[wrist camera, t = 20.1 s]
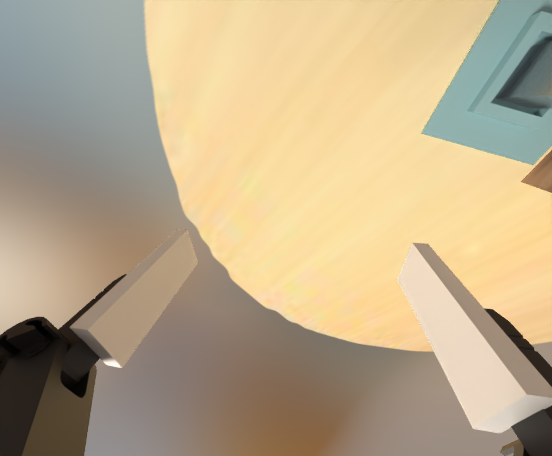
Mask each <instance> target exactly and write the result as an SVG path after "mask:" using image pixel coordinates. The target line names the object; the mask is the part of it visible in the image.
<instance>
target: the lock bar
mask: <svg viewBox="0 0 552 456" xmlns="http://www.w3.org/2000/svg"><path fill="white" fill-rule="evenodd" d="M495 98H496V99H500V100H503V101H507V102H510V103H514V104H517V105H521V106H524V107H528V108H531V109H552V41H551V42H547V43H544V44H540V45H536V46H533V47H530V49H529V50H528V52H527V53H526V54H525V56H524V57H523V59H522V60H521V61H520V63H519V64H518V66H517V67H516V68H515V70H514V71H513V73H512V74H511V75H510V77H509V78H508V79H507V81H506V82H505V84H504V85H503V86H502V88H501V89H500V91H499V92H498V93H497V95H496V96H495Z"/></svg>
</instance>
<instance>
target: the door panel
mask: <svg viewBox="0 0 552 456" xmlns="http://www.w3.org/2000/svg"><path fill="white" fill-rule="evenodd" d="M522 182H523V183H526V184H529V185H531V186H534V187H537V188H540V189H543V190H546V191H548V192H551V193H552V151H551V152H550V153H549V154H548V155H547V156H546V157H545V158H544V159H543V160H542V161H541V162H540V163H539V164H538V165H537V166H536V167H535V168H534V169H533V170H532V171H531V172H530V173H529V174H528V175H527V176H526V177H525V178H524V180H523V181H522Z"/></svg>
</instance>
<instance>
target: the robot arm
mask: <svg viewBox="0 0 552 456" xmlns="http://www.w3.org/2000/svg"><path fill="white" fill-rule="evenodd" d="M197 263H198V261H197V258H196V254H195V251H194V248H193V245H192V241H191V239H190V235H189V232H188V230H183V229H177V230H175V231H174V232H173V233H172V234H171V235H170V236H169V237H168V238H166V239H165V240H164V241H163V242H162V243H161V244H160V245H159V246H158V247H157V248H156V249H154V250H153V251H152V252H151V253H150V254H149V255H148V256H147V257H146V258H145V259H144V260H142V261H141V262H140V263H139V264H138V265H137V266H136V267H135V268H134V269H133V270H131V271H130V272H129V273H128V274H125V275H123V276H121V277H120V278H118V279H116V280H115V281H113V282H112V283H111V284H110V285H108V286H107V287H106V288H105V289H104V291H103V292H101V293H99V294H98V295H97V296H96V298H95V299H93V300H92V301H90V302H89V303H88V304H87V305H86V306H85V307H84V308H82V309H81V310H80V311H79V312H78V313H77V314H76V315H75V316H73V317H72V318H71V319H70V320H69V321H68V322H67V323H65V324H64V325H63V326H62V327H61V328H60V329H57V328H56V327H54V326H53V325H52V324H51V323H50V322H49V321H48V320H47V319H46V318H44V317H35V318H31V319H27V320H25V321H23V322H20V323H18V324H16V325H15V326H13V327H11V328H10V329H8V330H7V331H5V332H4V333H3V334H1V335H0V456H84V452H85V445H86V438H87V432H88V425H89V418H90V411H91V405H92V397H93V392H94V385H95V378H96V371H97V370H96V366H95V365H94V364H95V363H96V362H97V361H98V360H99V358H100V359H101V360H102V361H103V362H104V363H105V364H106V365H109V366H115V367H120V368H122V367H123V366H124V365H125V364H126V362H127V361H128V359H129V358H130V357H131V355H132V354H133V352H134V351H135V350H136V348H137V347H138V346H139V344H140V343H141V341H142V340H143V339H144V337H145V336H146V334H147V333H148V332H149V330H150V329H151V327H152V326H153V325H154V323H155V322H156V320H157V319H158V318H159V316H160V315H161V313H162V312H163V311H164V309H165V308H166V307H167V305H168V304H169V302H170V301H171V300H172V298H173V297H174V295H175V294H176V292H177V291H178V290H179V289H180V287H181V286H182V284H183V283H184V281H185V280H186V279H187V277H188V276H189V275H190V273H191V272H192V270H193V269H194V268H195V266H196V265H197ZM397 280H398V282H399V284H400V286H401V288H402V290H403V292H404V294H405V296H406V298H407V299H408V301H409V303H410V305H411V307H412V309H413V311H414V313H415V315H416V317H417V319H418V321H419V323H420V325H421V327H422V329H423V331H424V333H425V335H426V337H427V339H428V341H429V343H430V345H431V347H432V349H433V351H434V353H435V355H436V357H437V359H438V360H439V363H440V364H441V366H442V368H443V370H444V372H445V374H446V376H447V378H448V380H449V382H450V384H451V386H452V388H453V390H454V392H455V394H456V396H457V398H458V400H459V402H460V404H461V406H462V408H463V409H464V412H465V414H466V416H467V418H468V420H469V422H470V423H471V425H472V427H473V429H478V430H484V431H490V432H495V433H501V432H503V431H505V430H507V429H509V428H511V427H512V429H513V430H514V432H515V434H516V435H517V437H518V438H519V439H518V440H516V441H514V442H512V443H510V444H508V445H505V446H503V447H502V450H501V453H502V454H503V455H504V456H506V455H508V454H511V453H513V452H514V456H552V367H551V366H550V365H549V364H548V363H547V362H546V360H545V359H544V358H543V357H542V356H541V355H540V354H539V353H538V352H536V351H534V348H533V346H532V345H531V344H530V343H529V342H528V341H527V340H526V339H523V336H522V335H521V334H520V333H519V331H518V330H517V329H516V328H515V327H514V326H513V325H512V324H511V323H510V322H509V321H508V320H506V319H505V318H504V317H502V316H501V315H500V314H498V313H497V312H495V311H494V310H493V309H484V308H483V307H482V306H481V305H480V304H479V302H478V301H477V300H476V299H475V298H474V297H473V295H472V294H471V293H470V292H469V291H468V290H467V289H466V287H465V286H464V285H463V284H462V283H461V282H460V280H459V279H458V278H457V277H456V276H455V275H454V274H453V272H452V271H451V270H450V269H449V268H448V267H447V265H446V264H445V263H444V262H443V261H442V260H441V258H440V257H439V256H438V255H437V254H436V253H435V252H434V250H433V249H432V248H431V247H430V246H429V245H428V244H422V243H412V245H411V248H410V250H409V252H408V255H407V257H406V260H405V262H404V264H403V267H402V269H401V272H400V274H399V276H398V279H397Z"/></svg>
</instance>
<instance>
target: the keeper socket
mask: <svg viewBox="0 0 552 456" xmlns="http://www.w3.org/2000/svg"><path fill="white" fill-rule="evenodd" d="M551 41H552V0H499V2H498V3H497V5H496V7H495V9H494V10H493V12H492V14H491V15H490V17H489V19H488V20H487V22H486V24H485V26H484V27H483V29H482V31H481V32H480V34H479V36H478V37H477V39H476V41H475V43H474V44H473V46H472V48H471V49H470V51H469V53H468V54H467V56H466V58H465V60H464V61H463V63H462V65H461V66H460V68H459V70H458V71H457V73H456V75H455V77H454V78H453V80H452V82H451V83H450V85H449V87H448V88H447V90H446V92H445V94H444V95H443V97H442V99H441V100H440V102H439V104H438V105H437V107H436V109H435V111H434V112H433V114H432V116H431V117H430V119H429V121H428V122H427V124H426V126H425V128H424V129H423V131H422V134H425V135H429V136H432V137H436V138H439V139H443V140H446V141H450V142H453V143H457V144H461V145H464V146H468V147H471V148H475V149H478V150H482V151H485V152H489V153H492V154H496V155H499V156H503V157H506V158H510V159H513V160H517V161H520V162H524V163H528V164H531V165H534V164H535V163H536V162H537V160H538V159H539V158H540V157H541V156H542V155H543V154H544V153H545V152H546V151H547V150H548V149H549V148H550V147H551V146H552V109H531V108H528V107H524V106H521V105H517V104H514V103H510V102H507V101H503V100H500V99H496V98H495V96H496V95H497V93H498V92H499V91H500V89H501V88H502V86H503V85H504V84H505V82H506V81H507V79H508V78H509V77H510V75H511V74H512V73H513V71H514V70H515V68H516V67H517V66H518V64H519V63H520V61H521V60H522V59H523V57H524V56H525V54H526V53H527V52H528V50H529V49H530V47H533V46H536V45H540V44H544V43H547V42H551Z"/></svg>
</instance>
